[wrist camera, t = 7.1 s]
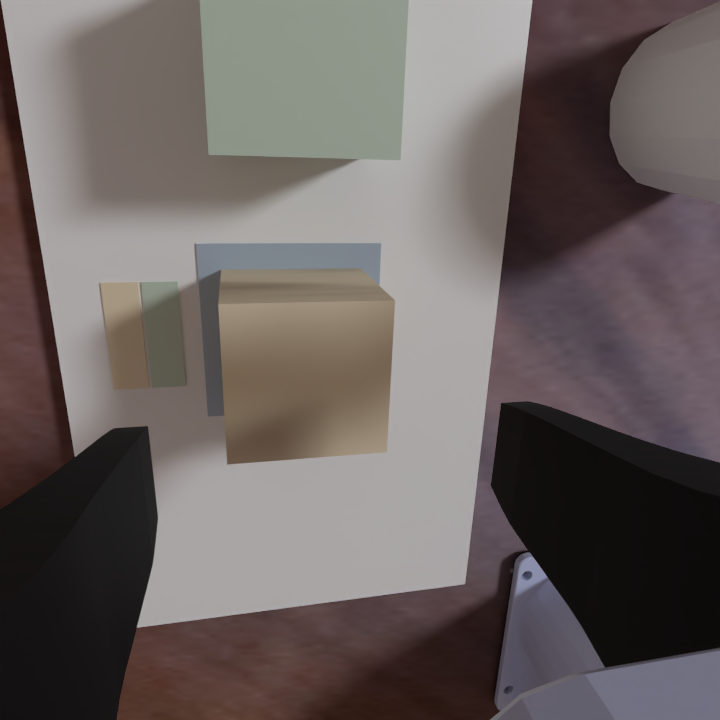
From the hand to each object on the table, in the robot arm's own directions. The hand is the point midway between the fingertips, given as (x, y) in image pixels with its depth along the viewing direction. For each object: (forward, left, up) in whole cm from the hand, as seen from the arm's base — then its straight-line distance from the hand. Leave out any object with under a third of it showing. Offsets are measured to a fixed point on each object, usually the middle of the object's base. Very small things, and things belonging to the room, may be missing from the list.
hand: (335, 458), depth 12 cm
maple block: (0, 0, -9) cm, 9 cm away
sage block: (+8, 0, -9) cm, 12 cm away
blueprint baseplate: (0, 0, -9) cm, 9 cm away
